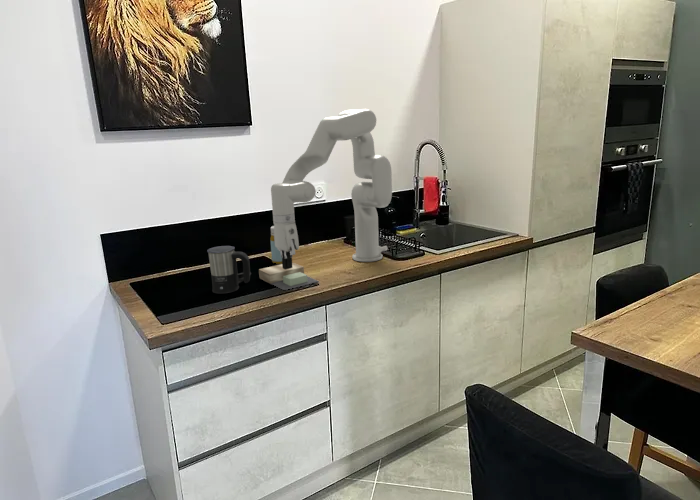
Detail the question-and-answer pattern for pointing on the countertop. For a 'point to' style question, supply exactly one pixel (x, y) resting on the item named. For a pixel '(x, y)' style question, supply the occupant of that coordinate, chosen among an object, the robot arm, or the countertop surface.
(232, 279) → the milk frother
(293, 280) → the green block
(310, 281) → the rubber mat
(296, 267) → the birch board
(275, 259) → the bottle
